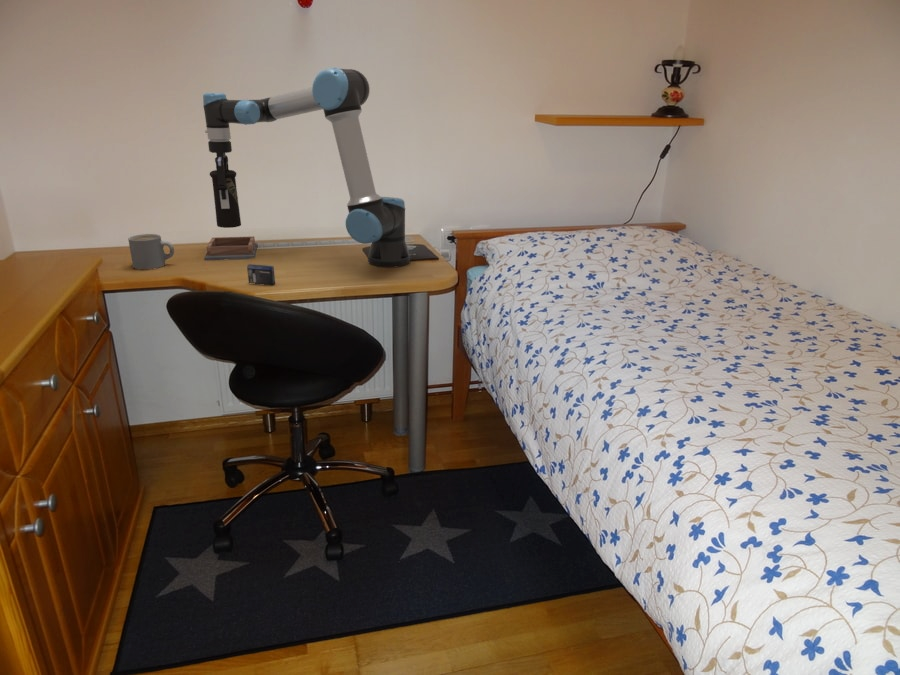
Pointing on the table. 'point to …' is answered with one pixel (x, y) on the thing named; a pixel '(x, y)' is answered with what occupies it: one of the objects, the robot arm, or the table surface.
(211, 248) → the collar plate
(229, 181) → the container
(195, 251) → the table surface
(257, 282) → the mini dv tape
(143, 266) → the coffee mug
